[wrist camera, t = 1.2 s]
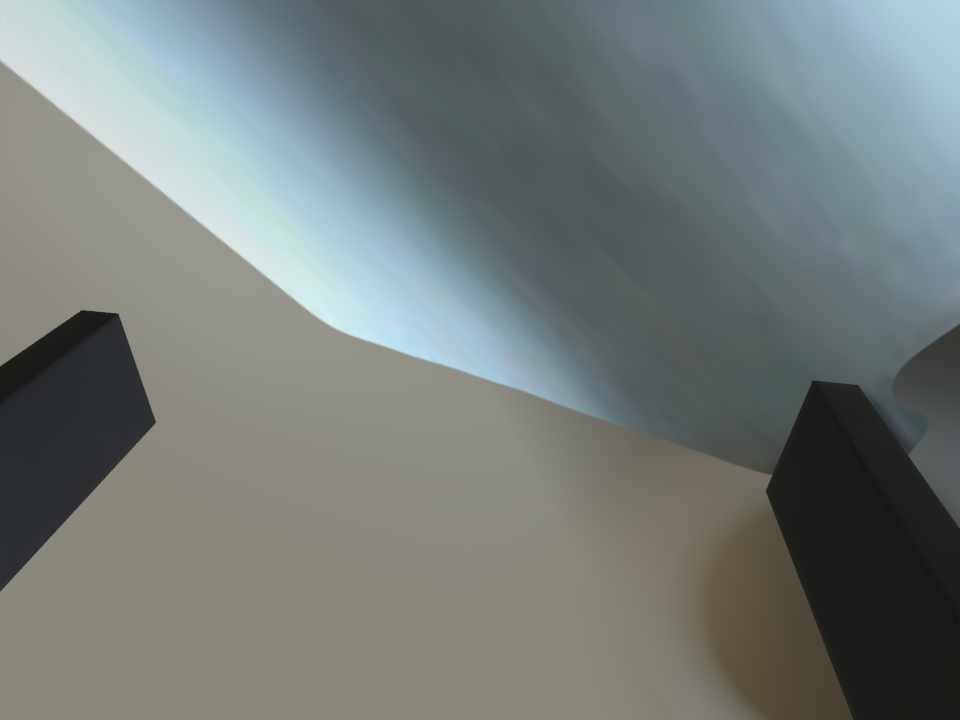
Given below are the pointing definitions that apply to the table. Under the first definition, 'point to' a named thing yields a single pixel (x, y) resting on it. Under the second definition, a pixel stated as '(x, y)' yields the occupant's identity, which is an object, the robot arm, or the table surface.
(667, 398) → the table surface
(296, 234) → the table surface
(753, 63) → the table surface
